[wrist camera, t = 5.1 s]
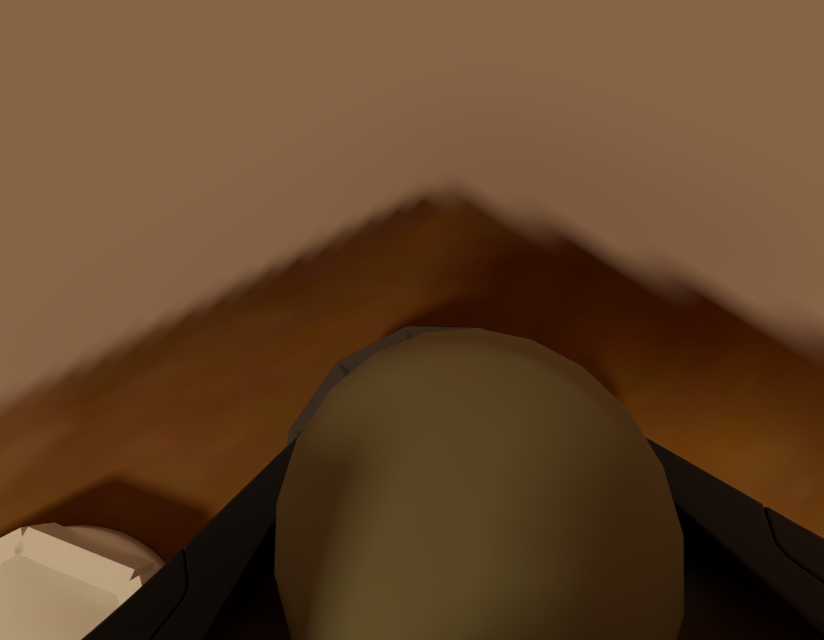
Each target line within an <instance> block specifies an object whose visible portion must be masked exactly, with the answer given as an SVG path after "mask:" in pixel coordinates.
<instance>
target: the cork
mask: <svg viewBox="0 0 824 640" xmlns="http://www.w3.org/2000/svg"><path fill="white" fill-rule="evenodd" d="M274 575H275V578H276V582H277V586H278V590H279V594H280V598H281V602H282V606H283V610H284V614H285V618H286V622H287V626H288V630H289V634H290V638H291V640H676V639H677V636H678V633H679V630H680V626H681V623H682V620H683V617H684V537H683V533H682V529H681V526H680V522H679V519H678V516H677V512H676V509H675V505H674V502H673V498H672V495H671V492H670V488H669V485H668V481H667V478H666V475H665V471H664V468H663V466H662V464H661V462H660V461H659V459H658V457H657V456H656V454H655V453H654V451H653V449H652V448H651V446H650V444H649V443H648V441H647V440H646V438H645V436H644V435H643V433H642V431H641V430H640V428H639V427H638V425H637V423H636V422H635V420H634V418H633V417H632V415H631V413H630V412H629V410H628V409H627V408H626V407H625V406H624V405H623V404H622V403H621V402H620V401H619V400H618V399H616V398H615V397H614V396H613V395H612V394H611V393H610V392H609V391H608V390H607V389H606V388H605V387H604V386H603V385H602V384H601V383H600V382H598V381H597V380H596V379H595V378H594V377H593V376H592V375H591V374H590V373H589V372H588V371H587V370H586V369H585V368H584V367H583V366H581V365H579V364H577V363H575V362H573V361H571V360H569V359H567V358H566V357H564V356H562V355H560V354H558V353H556V352H554V351H552V350H550V349H548V348H547V347H545V346H543V345H541V344H539V343H537V342H535V341H533V340H531V339H527V338H522V337H517V336H512V335H508V334H503V333H498V332H493V331H488V330H483V329H478V328H474V329H463V330H452V331H441V332H431V333H423V334H420V335H418V336H415V337H413V338H411V339H408V340H406V341H403V342H401V343H398V344H396V345H394V346H391V347H389V348H386V349H384V350H382V351H379V352H377V353H374V354H373V355H372V356H370V357H369V358H368V359H367V360H365V361H364V362H363V363H362V364H361V365H359V366H358V367H357V368H356V369H355V370H353V371H352V372H351V373H350V374H349V375H347V376H346V377H345V378H344V379H342V380H341V381H340V382H339V383H338V384H336V385H335V386H334V387H333V388H332V389H330V391H329V392H328V394H327V395H326V397H325V398H324V400H323V401H322V403H321V404H320V406H319V407H318V409H317V410H316V412H315V413H314V415H313V416H312V418H311V419H310V420H309V422H308V423H307V425H306V426H305V428H304V429H303V431H302V432H301V434H300V435H299V437H298V438H297V440H296V443H295V446H294V449H293V453H292V456H291V459H290V462H289V465H288V468H287V471H286V474H285V478H284V481H283V484H282V487H281V490H280V493H279V496H278V500H277V506H276V536H275V567H274Z"/></svg>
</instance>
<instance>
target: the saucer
mask: <svg viewBox="0 0 824 640" xmlns="http://www.w3.org/2000/svg"><path fill="white" fill-rule="evenodd" d="M165 564H166V563H165V562H164V561H163V560H162V559H161V558H160V557H159V556H158V555H157V554H156V553H155V552H154V551H153V550H151V549H150V548H149V547H147V546H146V545H145V544H143V543H142V542H140V541H139V540H137V539H135V538H133V537H131V536H129V535H127V534H125V533H123V532H120V531H116V530H113V529H110V528H106V527H99V526H91V525H71V526H62V525H59V524H57V523H49V524H47V523H46V524H40V525H34V526H27V527H21V528H19V529H17V530H15V531H13V532H11V533H9V534H7V535H5V536H3V537H1V538H0V640H81V639H82V638H84V637H85V636H86V635H87V634H88V633H89V632H91V631H92V630H93V629H94V628H95V627H96V626H97V625H99V624H100V623H101V622H102V621H103V620H104V619H105V618H107V617H108V616H109V615H110V614H111V613H112V612H113V611H115V610H116V609H117V608H118V607H119V606H120V605H121V604H123V603H124V602H125V601H126V600H127V599H128V598H129V597H131V596H132V595H133V594H134V593H135V592H136V591H137V590H138V589H139V588H140V587H141V586H142V585H143V584H144V583H146V582H147V581H148V580H149V579H150V578H151V577H152V576H153V575H154V574H155V573H156V572H157V571H158V570H159V569H161V568H162V567H163V566H164V565H165Z"/></svg>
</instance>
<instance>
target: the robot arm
mask: <svg viewBox="0 0 824 640" xmlns="http://www.w3.org/2000/svg"><path fill="white" fill-rule="evenodd" d="M300 434H301V433H300ZM300 434H299V435H300ZM299 435H298V436H297V437H296V438H295V439H294V440H293V441H292V442H291V443H290V444H289V445H288V446H287V447H286V448H285V449H284V450H283V451H282V452H281V453H280V454H279V455H277V456H276V457H275V458H274V459H273V460H272V461H271V462H270V463H269V464H268V465H267V466H266V467H265V468H264V469H263V470H262V471H261V472H260V473H259V474H258V475H257V476H256V477H255V478H254V479H253V480H252V481H251V482H250V483H249V484H248V485H247V486H245V487H244V488H243V489H242V490H241V491H240V492H239V493H238V494H237V495H236V496H235V497H234V498H233V499H232V500H231V501H230V502H229V503H228V504H227V505H226V506H225V507H224V508H223V509H222V510H221V511H220V512H219V513H218V514H217V515H216V516H214V517H213V518H212V519H211V520H210V521H209V522H208V523H207V524H206V525H205V526H204V527H203V528H202V529H201V530H200V531H199V532H198V533H197V534H196V535H195V536H194V537H193V538H192V539H191V540H190V541H189V542H188V543H187V544H186V545H185V546H184V549H181V550H179V551H178V552H177V553H176V554H175V555H174V556H173V557H172V558H171V559H170V560H169V561H168V562H167V563H166V564H165V565H164V566H163V567H162V568H161V569H159V570H158V571H157V572H156V573H155V574H154V575H153V576H152V577H151V578H150V579H149V580H148V581H147V582H146V583H144V584H143V585H142V586H141V587H140V588H139V589H138V590H137V591H136V592H135V593H134V594H133V595H132V596H131V597H129V598H128V599H127V600H126V601H125V602H124V603H123V604H121V605H120V606H119V607H118V608H117V609H116V610H115V611H113V612H112V613H111V614H110V615H109V616H108V617H107V618H105V619H104V620H103V621H102V622H101V623H100V624H99V625H97V626H96V627H95V628H94V629H93V630H92V631H91V632H89V633H88V634H87V635H86V636H85V637H84V638H82V639H81V640H291V638H290V634H289V630H288V626H287V622H286V618H285V614H284V610H283V606H282V602H281V598H280V594H279V590H278V586H277V582H276V578H275V575H274V567H275V536H276V506H277V500H278V496H279V493H280V490H281V487H282V484H283V481H284V478H285V474H286V471H287V468H288V465H289V462H290V459H291V456H292V453H293V449H294V446H295V443H296V440H297V438H298V437H299ZM645 438H646V437H645ZM646 440H647V441H648V443H649V444H650V446H651V448H652V449H653V451H654V453H655V454H656V456H657V457H658V459H659V461H660V462H661V464H662V466H663V468H664V471H665V475H666V478H667V481H668V485H669V488H670V492H671V495H672V498H673V502H674V505H675V509H676V512H677V516H678V519H679V522H680V526H681V529H682V533H683V537H684V617H683V620H682V623H681V626H680V630H679V633H678V636H677V639H676V640H824V539H823V538H821V537H820V536H818V535H816V534H814V533H812V532H811V531H809V530H807V529H805V528H803V527H802V526H800V525H798V524H796V523H794V522H793V521H791V520H789V519H787V518H786V517H784V516H782V515H780V514H779V513H777V512H775V511H773V510H772V509H770V508H768V507H765V508H764V507H763V505H762V504H761V503H759V502H758V501H756V500H754V499H752V498H751V497H749V496H747V495H745V494H744V493H742V492H740V491H738V490H737V489H735V488H733V487H731V486H730V485H728V484H726V483H724V482H723V481H721V480H719V479H717V478H716V477H714V476H712V475H710V474H709V473H707V472H705V471H703V470H702V469H700V468H698V467H696V466H695V465H693V464H691V463H689V462H688V461H686V460H684V459H682V458H681V457H679V456H677V455H675V454H674V453H672V452H670V451H668V450H667V449H665V448H663V447H661V446H660V445H658V444H656V443H654V442H653V441H651V440H649V439H647V438H646Z"/></svg>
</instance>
